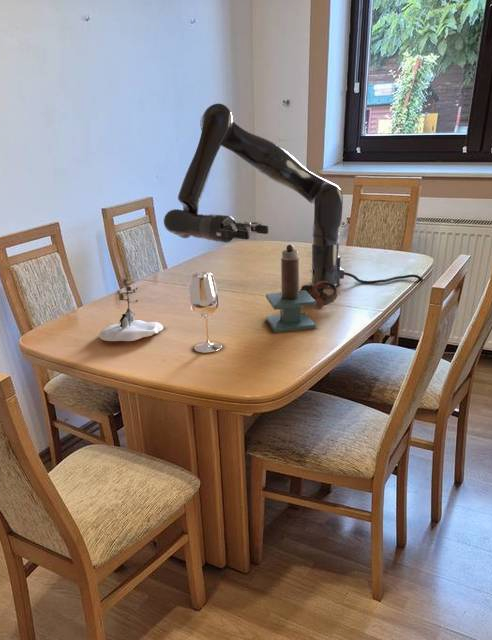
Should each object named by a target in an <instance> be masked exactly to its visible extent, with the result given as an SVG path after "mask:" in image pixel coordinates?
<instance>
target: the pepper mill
mask: <svg viewBox="0 0 492 640" xmlns="http://www.w3.org/2000/svg"><path fill="white" fill-rule="evenodd" d="M294 248H295V247H294V245H292V244H287V245H286V247H285V249H284V250H282V251H281V259H280V269H281V270H280V278H281V279H280V281H281V283H280V284H281V285H280V287H281V292H282V299H284V300H295V299H298V298H299V291H300V258H299V250H298V249H294Z"/></svg>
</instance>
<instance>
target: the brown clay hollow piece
mask: <svg viewBox="0 0 492 640" xmlns="http://www.w3.org/2000/svg"><path fill="white" fill-rule="evenodd" d="M328 286H330V288H331V290H333V293H331V294H328V293H326V292H324V290H325V289H327V288H326V287H328ZM301 290H306V291H307V292H308V294H309V295H310V296H311V297H312V298H313V299H314V300H315V301H316V305H315V307H316V308H318V309H322V308H323V307H325V306H328V305H330V304H332V303H334V302H335V301H336V300H337V298H338V289H337V286H335V285H334V284H333V283H331V282H328V281H319V282H317V283H316V284H315V285H314V286H312V285H309V284H304V285H302V286H301V287H300V288H299V291H301Z"/></svg>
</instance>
